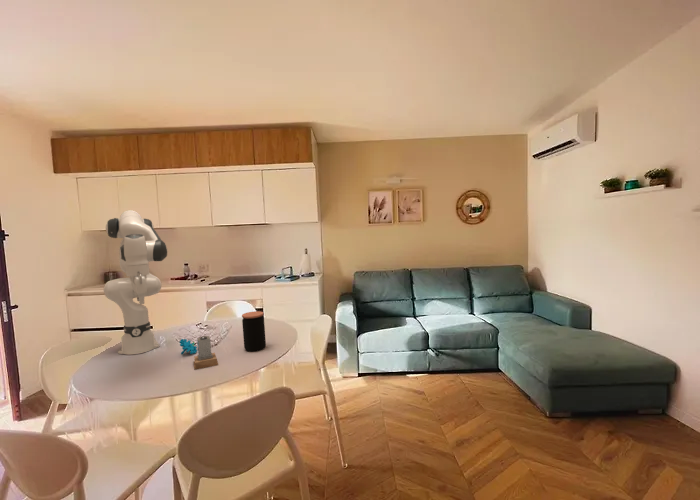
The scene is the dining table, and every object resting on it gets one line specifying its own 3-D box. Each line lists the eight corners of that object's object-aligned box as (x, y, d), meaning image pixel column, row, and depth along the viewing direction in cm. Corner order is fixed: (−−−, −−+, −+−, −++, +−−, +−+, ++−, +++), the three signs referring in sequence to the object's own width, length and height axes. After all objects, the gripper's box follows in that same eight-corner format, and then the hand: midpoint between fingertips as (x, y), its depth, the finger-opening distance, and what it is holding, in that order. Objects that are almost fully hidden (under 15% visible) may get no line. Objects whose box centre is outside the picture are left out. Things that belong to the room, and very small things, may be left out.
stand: (193, 362, 166) (192, 356, 166) (216, 358, 170) (215, 352, 170) (194, 370, 157) (193, 363, 157) (218, 365, 161) (217, 358, 161)
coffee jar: (265, 343, 188) (262, 310, 186) (267, 350, 178) (264, 314, 176) (244, 347, 184) (241, 312, 183) (244, 353, 174) (242, 317, 173)
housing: (197, 356, 165) (195, 336, 164) (211, 354, 167) (209, 334, 167) (198, 360, 159) (196, 339, 159) (212, 358, 162) (211, 337, 161)
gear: (191, 354, 173) (177, 339, 174) (183, 362, 173) (169, 348, 174) (202, 349, 184) (189, 335, 185) (194, 357, 184) (181, 344, 185)
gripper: (149, 272, 149) (152, 304, 150) (143, 268, 165) (146, 298, 166) (131, 274, 145) (134, 307, 146) (127, 270, 162) (130, 300, 163)
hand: (140, 302), depth 156 cm, fingers open, 8 cm apart
